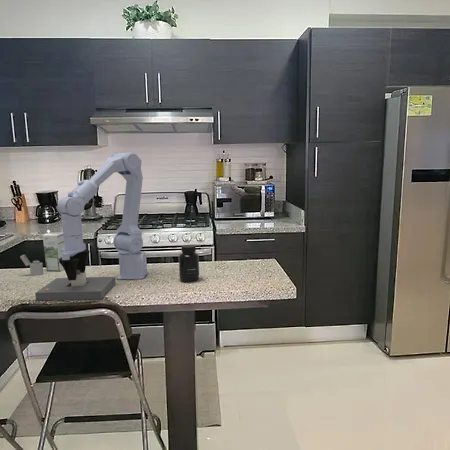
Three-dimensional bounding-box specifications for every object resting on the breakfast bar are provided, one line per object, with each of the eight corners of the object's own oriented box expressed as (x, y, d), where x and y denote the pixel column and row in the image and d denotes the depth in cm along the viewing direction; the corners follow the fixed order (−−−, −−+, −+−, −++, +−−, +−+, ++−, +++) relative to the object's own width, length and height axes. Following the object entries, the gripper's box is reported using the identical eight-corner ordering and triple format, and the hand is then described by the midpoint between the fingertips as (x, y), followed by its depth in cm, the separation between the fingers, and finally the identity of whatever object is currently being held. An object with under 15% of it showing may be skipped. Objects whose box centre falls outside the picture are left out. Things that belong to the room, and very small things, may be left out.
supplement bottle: (191, 284, 132) (190, 249, 130) (175, 281, 135) (173, 247, 133) (203, 278, 137) (202, 245, 135) (187, 276, 141) (186, 243, 139)
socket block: (115, 283, 134) (115, 276, 134) (101, 299, 119) (100, 290, 119) (57, 285, 134) (56, 277, 134) (36, 300, 119) (35, 292, 119)
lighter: (43, 273, 149) (41, 253, 148) (42, 274, 148) (40, 254, 146) (23, 275, 148) (21, 254, 147) (22, 276, 146) (19, 255, 145)
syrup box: (67, 267, 157) (64, 231, 155) (59, 271, 151) (56, 234, 149) (53, 267, 158) (50, 231, 155) (45, 271, 152) (42, 234, 150)
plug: (87, 290, 128) (85, 269, 127) (84, 293, 125) (82, 271, 124) (75, 290, 128) (73, 269, 127) (71, 293, 125) (69, 271, 124)
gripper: (69, 231, 131) (73, 270, 133) (50, 239, 117) (54, 283, 119) (90, 230, 131) (94, 269, 133) (73, 239, 116) (77, 283, 119)
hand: (76, 276), depth 126 cm, fingers open, 7 cm apart
